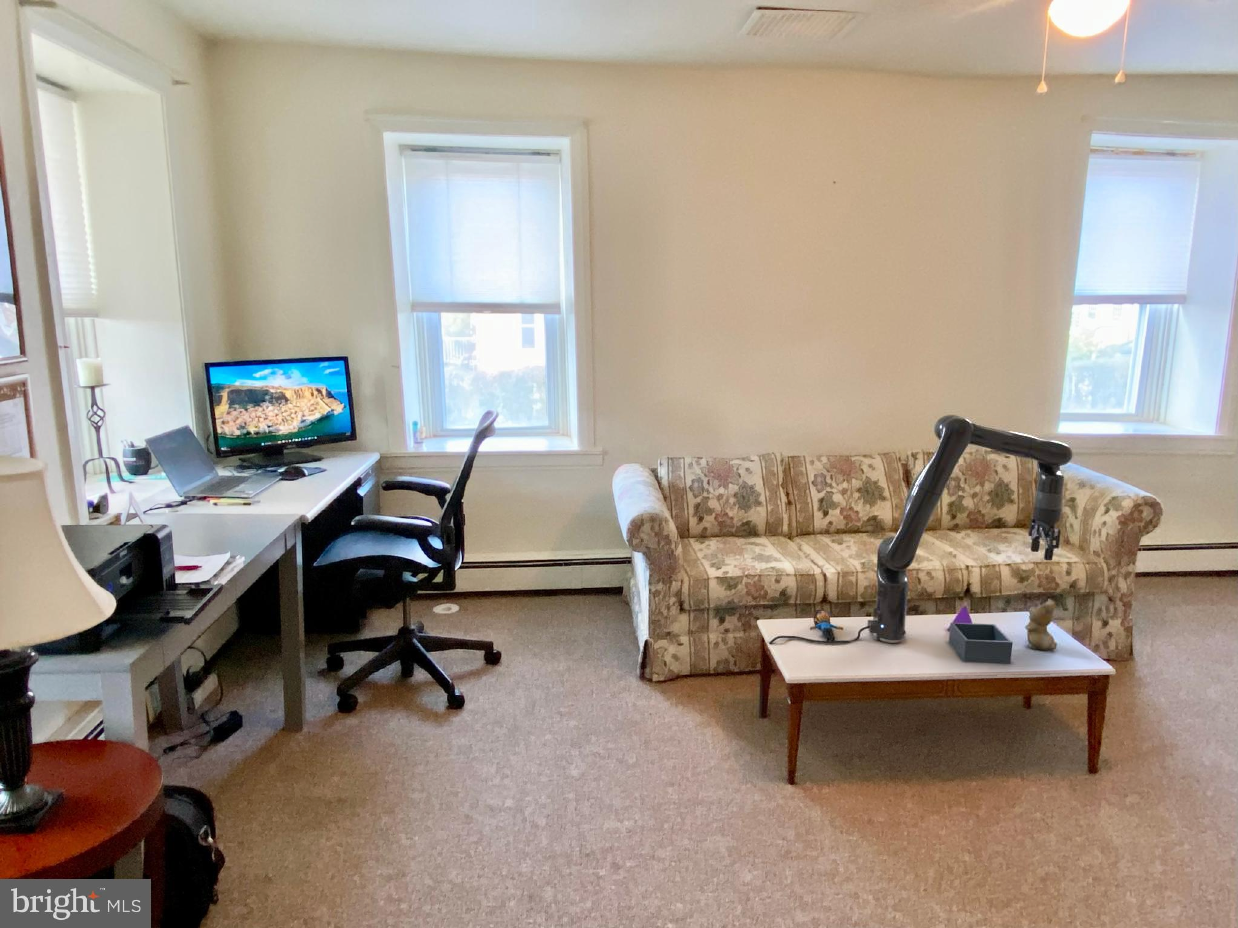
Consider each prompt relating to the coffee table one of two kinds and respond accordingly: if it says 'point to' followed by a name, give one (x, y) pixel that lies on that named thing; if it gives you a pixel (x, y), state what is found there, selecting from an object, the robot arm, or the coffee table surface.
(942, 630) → the coffee table surface
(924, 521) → the robot arm
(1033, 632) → the figurine
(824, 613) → the toy
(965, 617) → the arrowhead
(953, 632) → the bin
